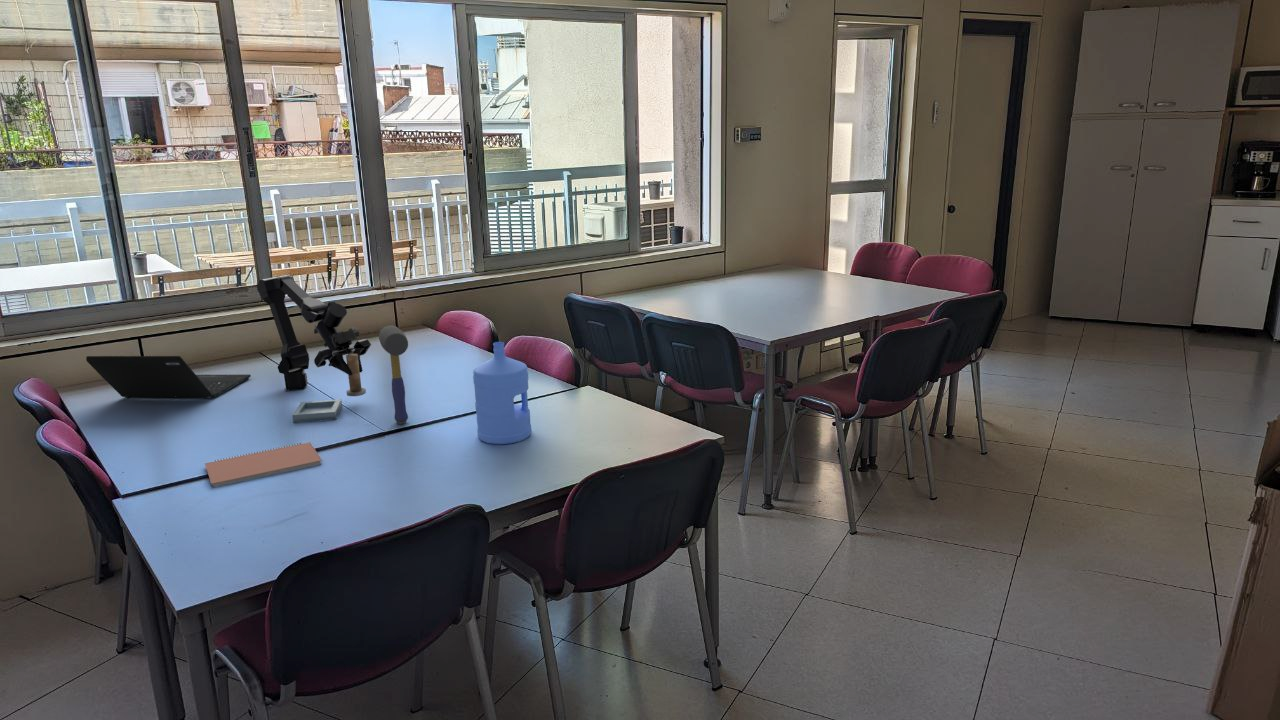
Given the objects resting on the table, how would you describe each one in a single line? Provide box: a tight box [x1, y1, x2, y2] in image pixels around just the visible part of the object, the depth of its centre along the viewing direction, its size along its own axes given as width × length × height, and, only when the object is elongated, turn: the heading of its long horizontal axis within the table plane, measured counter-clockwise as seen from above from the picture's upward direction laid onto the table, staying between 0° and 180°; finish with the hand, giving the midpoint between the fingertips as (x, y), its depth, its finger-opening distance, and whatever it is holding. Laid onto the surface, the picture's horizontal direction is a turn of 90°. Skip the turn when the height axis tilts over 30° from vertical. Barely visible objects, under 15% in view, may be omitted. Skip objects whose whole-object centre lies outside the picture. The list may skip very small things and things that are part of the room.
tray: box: [292, 398, 343, 424], centre depth 267 cm, size 13×13×2 cm
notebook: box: [204, 441, 323, 488], centre depth 228 cm, size 27×17×2 cm, turn 122°
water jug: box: [472, 341, 532, 445], centre depth 242 cm, size 16×16×28 cm
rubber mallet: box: [378, 324, 409, 425], centre depth 254 cm, size 12×8×30 cm, turn 25°
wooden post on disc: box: [345, 354, 367, 397], centre depth 273 cm, size 6×6×13 cm
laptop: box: [85, 355, 252, 399], centre depth 288 cm, size 33×38×19 cm
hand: (356, 373), depth 272 cm, fingers closed on wooden post on disc, 4 cm apart
